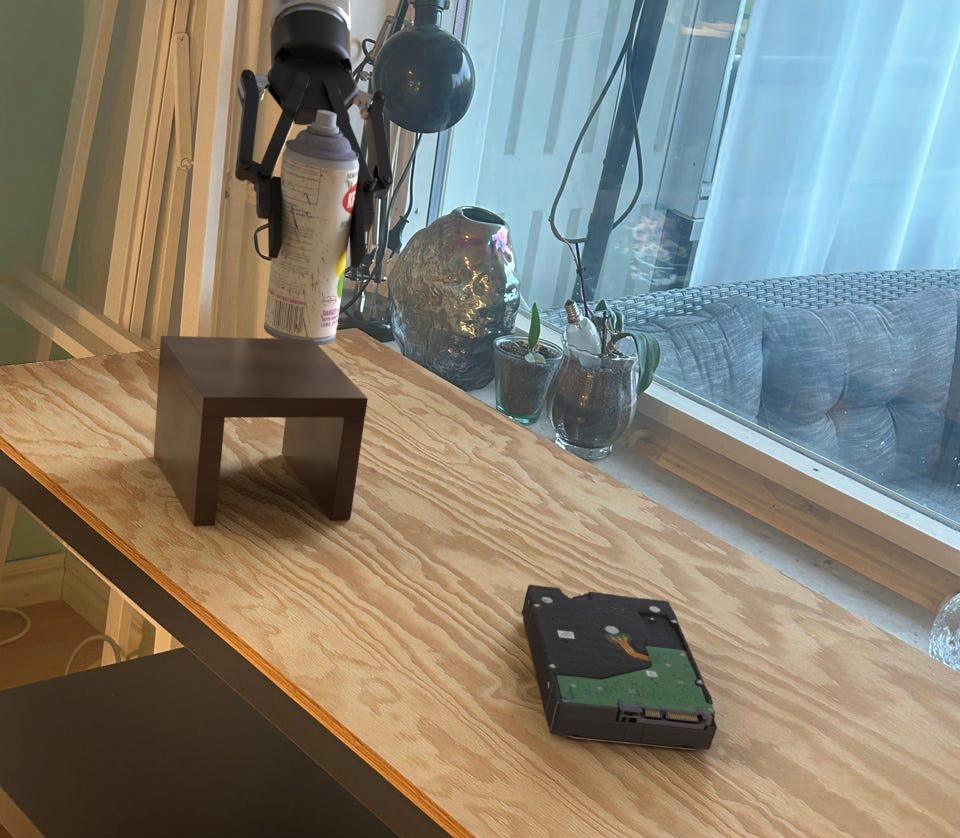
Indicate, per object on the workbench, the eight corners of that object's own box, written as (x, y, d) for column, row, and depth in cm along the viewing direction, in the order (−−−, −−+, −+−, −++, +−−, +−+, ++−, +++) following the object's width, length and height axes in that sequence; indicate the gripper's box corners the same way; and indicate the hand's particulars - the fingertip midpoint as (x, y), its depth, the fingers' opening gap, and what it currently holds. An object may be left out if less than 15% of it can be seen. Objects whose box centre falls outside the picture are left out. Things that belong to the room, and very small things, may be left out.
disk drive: (516, 618, 92) (548, 740, 79) (524, 582, 90) (558, 700, 78) (660, 633, 94) (713, 754, 81) (669, 598, 92) (725, 716, 79)
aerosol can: (339, 349, 124) (369, 126, 114) (265, 340, 123) (290, 113, 113) (332, 325, 130) (361, 111, 120) (262, 316, 128) (285, 98, 118)
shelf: (153, 456, 104) (160, 335, 99) (299, 454, 109) (313, 339, 104) (193, 526, 95) (203, 397, 90) (350, 520, 100) (368, 398, 95)
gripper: (402, 74, 131) (411, 286, 126) (199, 41, 125) (200, 263, 120) (422, 24, 124) (434, 246, 119) (209, -14, 118) (211, 219, 113)
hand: (317, 254), depth 119 cm, fingers closed on aerosol can, 7 cm apart
